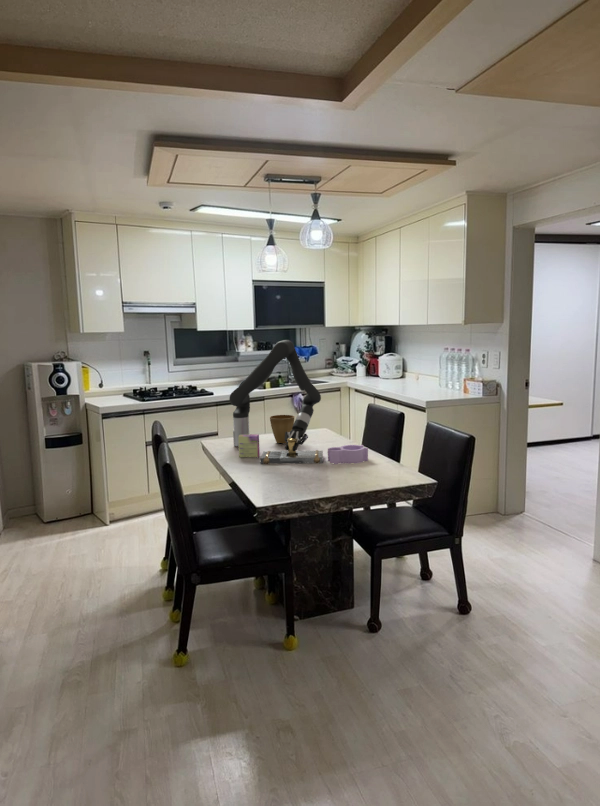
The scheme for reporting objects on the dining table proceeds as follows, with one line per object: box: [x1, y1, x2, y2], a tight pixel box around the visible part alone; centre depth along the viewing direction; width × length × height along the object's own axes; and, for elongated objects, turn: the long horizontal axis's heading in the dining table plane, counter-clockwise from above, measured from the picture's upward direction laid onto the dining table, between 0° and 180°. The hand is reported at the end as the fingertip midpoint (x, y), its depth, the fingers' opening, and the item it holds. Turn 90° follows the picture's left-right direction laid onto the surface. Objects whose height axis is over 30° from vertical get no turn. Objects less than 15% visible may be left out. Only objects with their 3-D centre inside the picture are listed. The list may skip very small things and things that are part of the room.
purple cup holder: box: [327, 444, 369, 465], centre depth 268 cm, size 20×12×7 cm, turn 104°
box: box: [238, 433, 261, 458], centre depth 282 cm, size 10×6×12 cm, turn 84°
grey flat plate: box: [260, 449, 324, 465], centre depth 272 cm, size 32×15×3 cm, turn 88°
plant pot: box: [269, 414, 295, 444], centre depth 311 cm, size 15×15×16 cm
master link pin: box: [287, 438, 297, 456], centre depth 272 cm, size 5×5×10 cm
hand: (290, 449), depth 270 cm, fingers closed on master link pin, 4 cm apart
